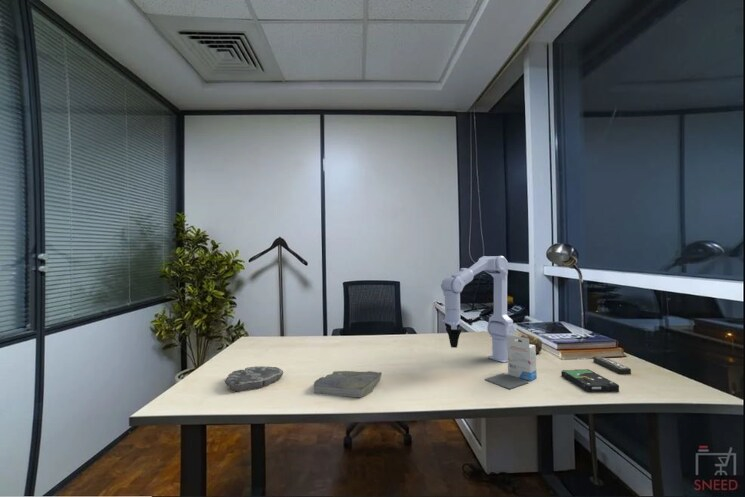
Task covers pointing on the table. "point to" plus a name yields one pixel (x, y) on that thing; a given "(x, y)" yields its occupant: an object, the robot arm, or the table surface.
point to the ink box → (521, 358)
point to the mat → (506, 381)
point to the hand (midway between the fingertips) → (453, 344)
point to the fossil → (347, 383)
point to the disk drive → (590, 380)
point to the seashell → (533, 341)
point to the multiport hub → (612, 365)
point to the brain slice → (253, 378)
